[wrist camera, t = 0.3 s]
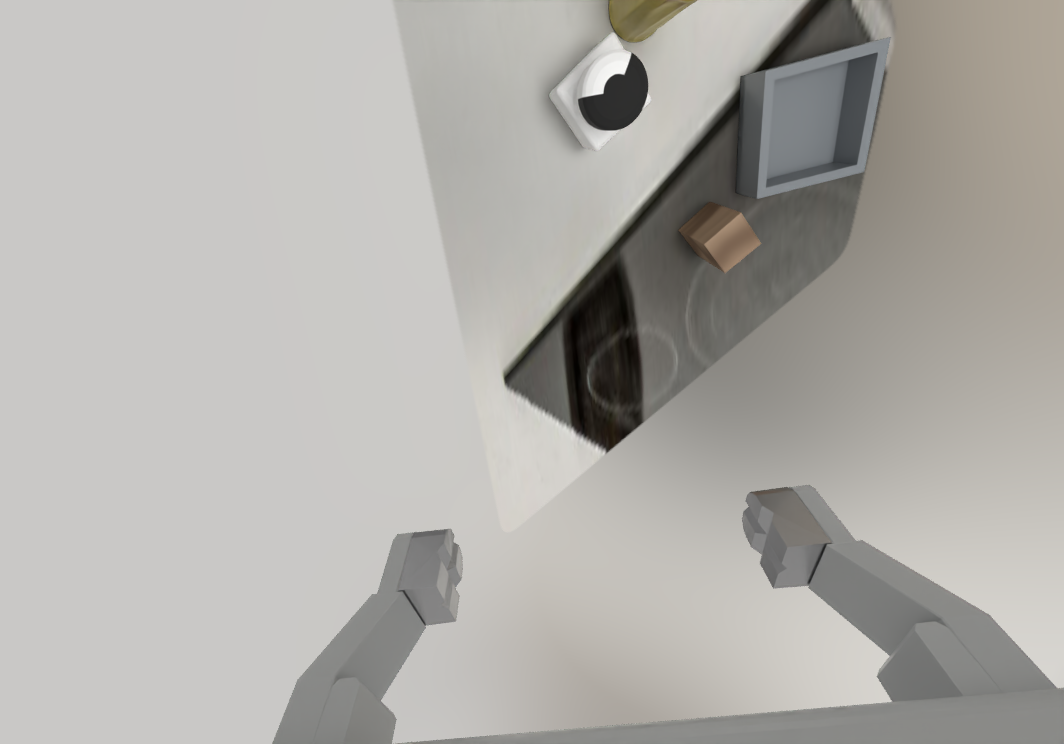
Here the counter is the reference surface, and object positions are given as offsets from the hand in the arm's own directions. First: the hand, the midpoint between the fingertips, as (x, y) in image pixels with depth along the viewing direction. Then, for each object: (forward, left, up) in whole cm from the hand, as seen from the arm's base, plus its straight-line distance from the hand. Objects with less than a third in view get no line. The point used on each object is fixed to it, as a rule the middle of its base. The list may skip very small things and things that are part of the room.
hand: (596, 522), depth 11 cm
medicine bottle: (-10, +11, -48) cm, 50 cm away
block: (+8, +24, -48) cm, 54 cm away
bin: (-2, +34, -47) cm, 59 cm away
